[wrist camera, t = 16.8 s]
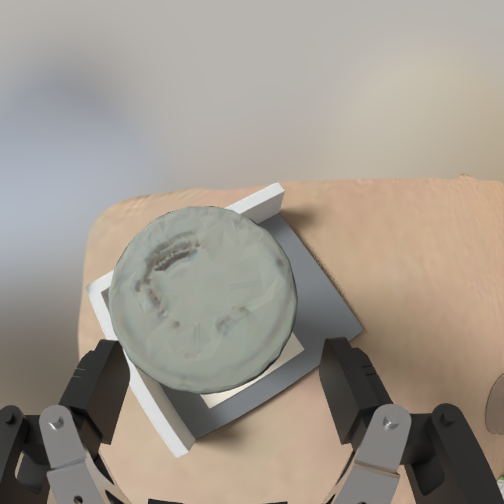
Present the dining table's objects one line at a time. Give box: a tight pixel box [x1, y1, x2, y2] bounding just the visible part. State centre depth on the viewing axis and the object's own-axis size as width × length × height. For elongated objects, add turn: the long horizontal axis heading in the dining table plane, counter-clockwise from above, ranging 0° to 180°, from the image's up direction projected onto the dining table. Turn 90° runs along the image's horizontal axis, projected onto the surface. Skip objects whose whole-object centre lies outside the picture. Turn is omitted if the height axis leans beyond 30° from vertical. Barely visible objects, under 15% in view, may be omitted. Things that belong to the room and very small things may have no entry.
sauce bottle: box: [108, 206, 298, 395], centre depth 15 cm, size 6×6×20 cm
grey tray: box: [86, 182, 364, 458], centre depth 24 cm, size 20×16×5 cm
